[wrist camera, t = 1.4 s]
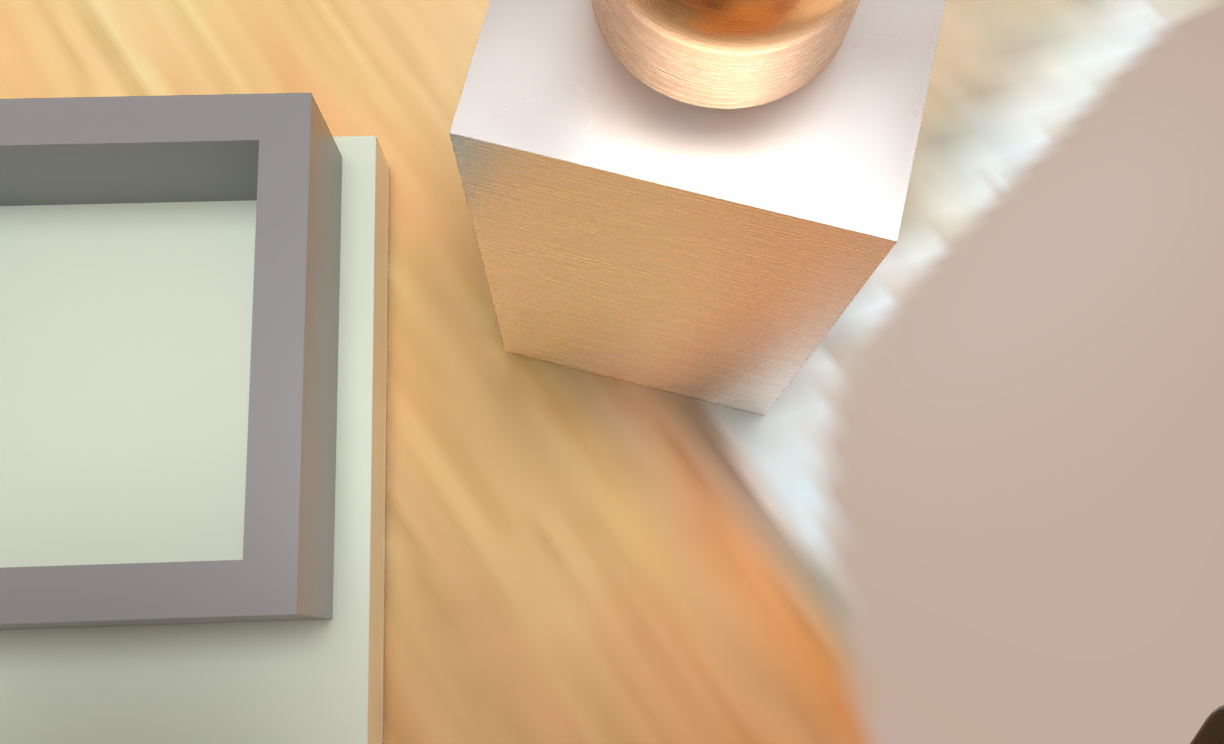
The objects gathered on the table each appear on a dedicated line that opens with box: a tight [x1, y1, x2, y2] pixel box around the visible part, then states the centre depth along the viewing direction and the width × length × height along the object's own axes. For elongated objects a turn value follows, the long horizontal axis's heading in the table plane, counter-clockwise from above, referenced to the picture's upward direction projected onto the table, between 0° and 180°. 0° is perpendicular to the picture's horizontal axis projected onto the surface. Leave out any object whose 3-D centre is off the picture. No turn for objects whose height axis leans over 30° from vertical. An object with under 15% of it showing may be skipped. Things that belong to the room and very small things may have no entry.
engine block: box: [450, 0, 946, 415], centre depth 16 cm, size 5×5×12 cm
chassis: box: [0, 93, 389, 744], centre depth 18 cm, size 17×9×6 cm, turn 2°
